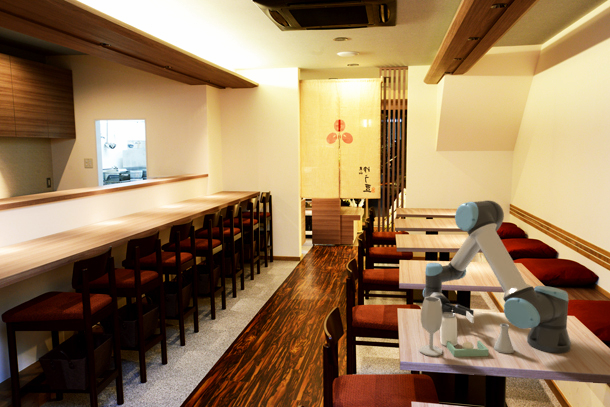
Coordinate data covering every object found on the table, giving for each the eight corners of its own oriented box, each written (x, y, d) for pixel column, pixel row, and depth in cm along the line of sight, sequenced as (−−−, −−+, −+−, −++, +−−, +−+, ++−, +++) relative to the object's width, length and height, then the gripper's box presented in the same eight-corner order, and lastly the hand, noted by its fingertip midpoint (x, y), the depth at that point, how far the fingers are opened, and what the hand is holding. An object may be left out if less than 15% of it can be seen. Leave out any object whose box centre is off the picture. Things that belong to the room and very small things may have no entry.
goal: (446, 347, 175) (446, 341, 174) (479, 346, 175) (479, 340, 175) (453, 356, 167) (454, 350, 166) (488, 356, 167) (488, 349, 167)
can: (456, 348, 174) (455, 319, 172) (439, 345, 177) (438, 317, 175) (458, 341, 179) (458, 312, 177) (442, 338, 182) (441, 310, 180)
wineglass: (415, 352, 171) (416, 299, 168) (425, 345, 177) (426, 293, 175) (436, 359, 165) (438, 304, 163) (446, 351, 172) (447, 298, 169)
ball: (475, 352, 170) (473, 341, 172) (472, 351, 167) (471, 340, 169) (464, 353, 172) (463, 342, 174) (461, 352, 169) (460, 341, 171)
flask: (510, 346, 175) (511, 321, 174) (516, 354, 168) (518, 328, 167) (491, 345, 176) (491, 321, 175) (497, 353, 169) (498, 328, 168)
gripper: (466, 310, 203) (486, 328, 182) (412, 311, 203) (426, 329, 181) (467, 294, 202) (487, 310, 181) (412, 295, 202) (426, 312, 181)
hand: (456, 320), depth 181 cm, fingers open, 13 cm apart
